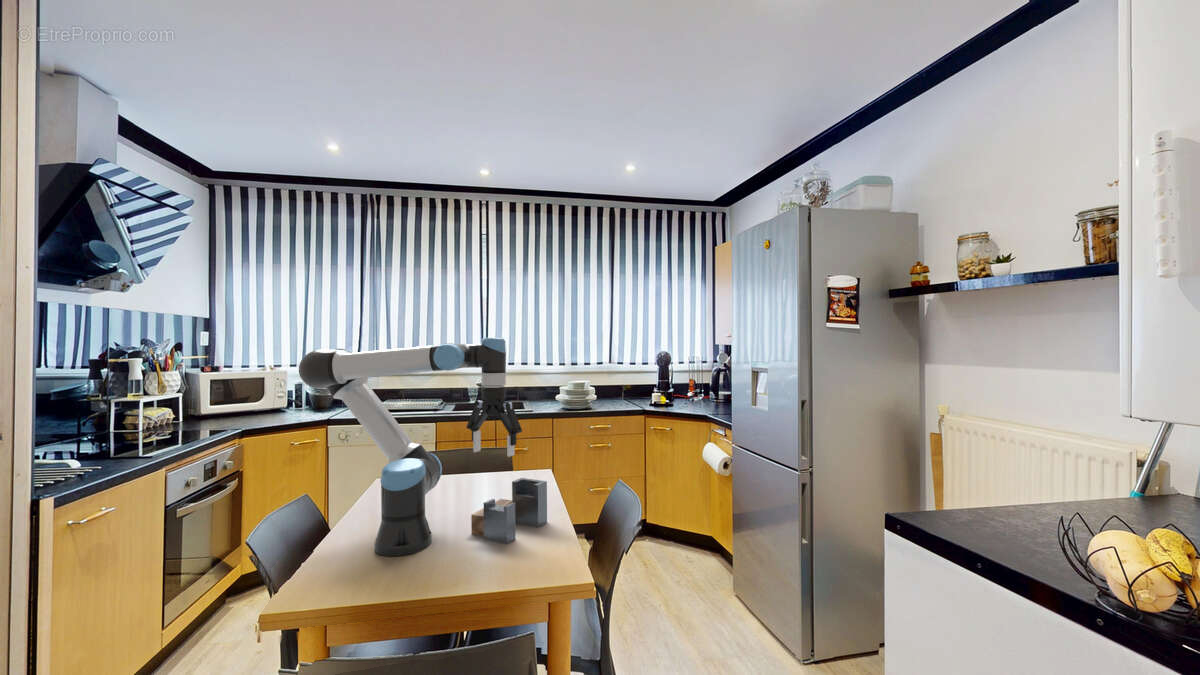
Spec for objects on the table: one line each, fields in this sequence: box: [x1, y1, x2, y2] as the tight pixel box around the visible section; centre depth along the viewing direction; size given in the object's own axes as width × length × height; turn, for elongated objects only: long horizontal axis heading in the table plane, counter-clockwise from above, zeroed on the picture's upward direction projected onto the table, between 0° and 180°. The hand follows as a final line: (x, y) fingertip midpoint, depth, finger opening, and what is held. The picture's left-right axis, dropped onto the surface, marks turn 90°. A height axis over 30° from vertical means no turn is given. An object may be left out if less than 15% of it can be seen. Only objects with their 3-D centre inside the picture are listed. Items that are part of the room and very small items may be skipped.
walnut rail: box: [470, 498, 512, 537], centre depth 153 cm, size 5×16×6 cm, turn 159°
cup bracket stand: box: [483, 477, 548, 545], centre depth 149 cm, size 10×20×13 cm, turn 152°
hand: (493, 453), depth 154 cm, fingers open, 13 cm apart
